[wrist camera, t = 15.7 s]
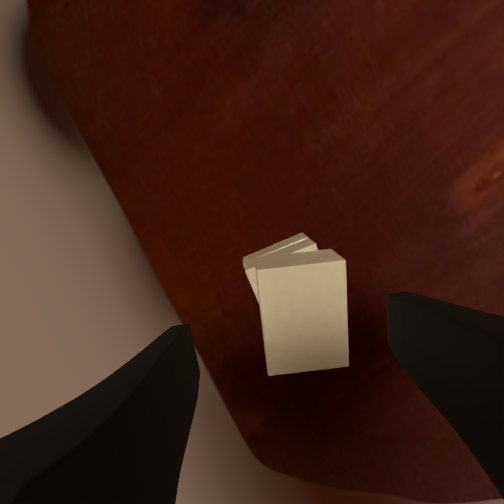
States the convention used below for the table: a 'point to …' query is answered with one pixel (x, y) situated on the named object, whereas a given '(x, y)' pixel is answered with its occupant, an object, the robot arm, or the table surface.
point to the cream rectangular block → (303, 311)
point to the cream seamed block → (284, 247)
